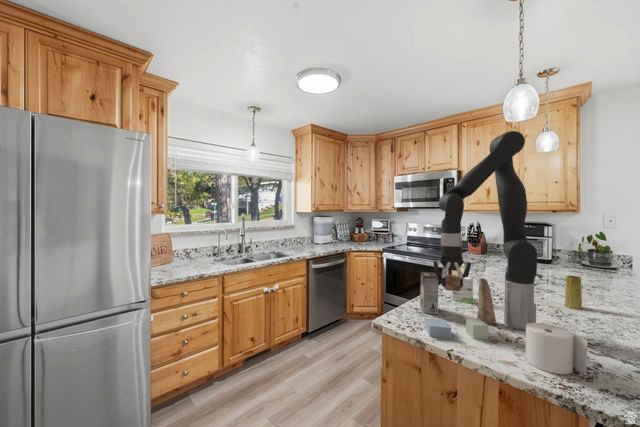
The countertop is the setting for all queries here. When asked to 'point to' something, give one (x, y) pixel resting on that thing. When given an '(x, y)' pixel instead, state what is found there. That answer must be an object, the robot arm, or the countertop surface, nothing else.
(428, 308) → the coffee box
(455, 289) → the walnut cube
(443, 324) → the base block
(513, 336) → the countertop surface
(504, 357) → the countertop surface
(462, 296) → the ink box
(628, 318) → the countertop surface
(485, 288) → the tan long rounded piece
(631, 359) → the countertop surface
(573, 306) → the vase
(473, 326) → the sage cube
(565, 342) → the toilet tissue
